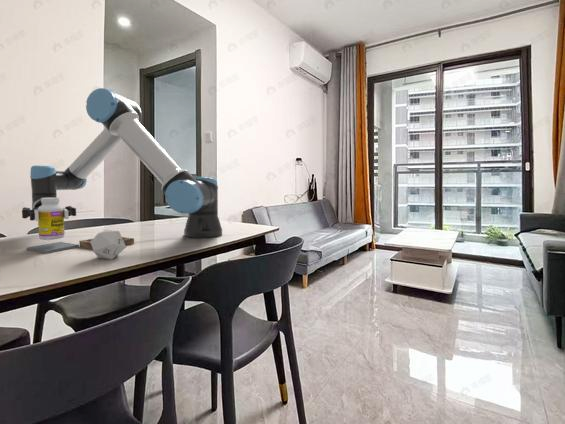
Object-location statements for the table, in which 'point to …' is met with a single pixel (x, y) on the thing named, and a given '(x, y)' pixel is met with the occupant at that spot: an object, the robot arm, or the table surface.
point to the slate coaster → (52, 247)
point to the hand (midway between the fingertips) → (52, 215)
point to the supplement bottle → (51, 219)
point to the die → (108, 244)
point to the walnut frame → (88, 245)
